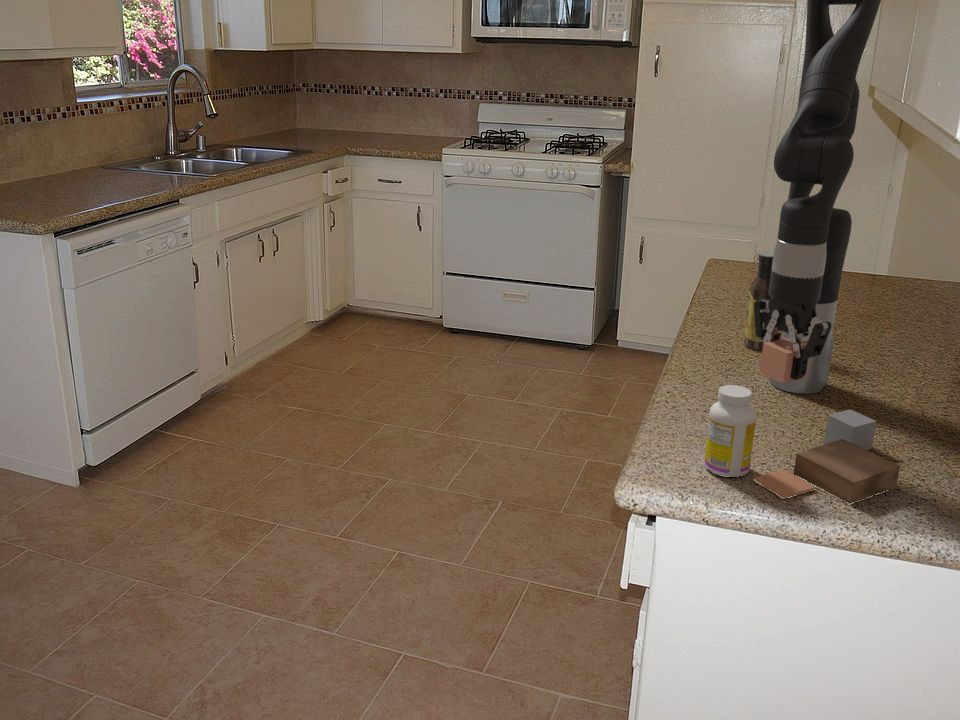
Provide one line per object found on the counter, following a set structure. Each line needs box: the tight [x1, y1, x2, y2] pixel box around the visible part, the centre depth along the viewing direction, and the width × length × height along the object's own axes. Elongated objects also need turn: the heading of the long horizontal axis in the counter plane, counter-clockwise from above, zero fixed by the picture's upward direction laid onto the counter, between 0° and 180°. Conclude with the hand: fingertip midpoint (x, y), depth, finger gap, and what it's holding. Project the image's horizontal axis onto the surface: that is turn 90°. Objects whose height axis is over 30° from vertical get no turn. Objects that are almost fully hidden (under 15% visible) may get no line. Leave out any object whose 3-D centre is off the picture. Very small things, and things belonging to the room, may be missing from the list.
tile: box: [753, 469, 816, 498], centre depth 127 cm, size 6×6×1 cm
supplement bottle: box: [703, 384, 757, 478], centre depth 129 cm, size 7×7×13 cm
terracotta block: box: [759, 338, 809, 383], centre depth 138 cm, size 5×5×5 cm
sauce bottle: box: [743, 251, 774, 351], centre depth 179 cm, size 6×6×20 cm
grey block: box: [823, 409, 877, 451], centre depth 138 cm, size 5×5×5 cm
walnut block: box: [792, 439, 901, 503], centre depth 128 cm, size 10×10×4 cm
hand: (783, 371), depth 139 cm, fingers closed on terracotta block, 5 cm apart
